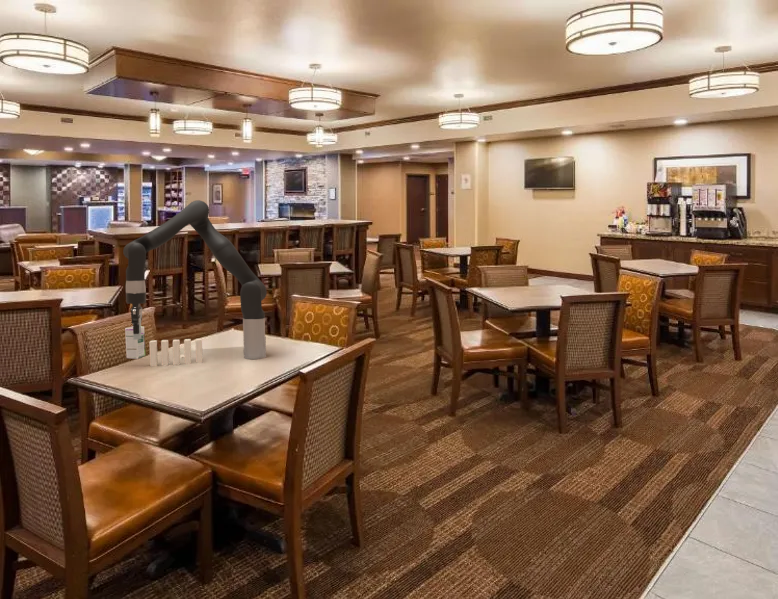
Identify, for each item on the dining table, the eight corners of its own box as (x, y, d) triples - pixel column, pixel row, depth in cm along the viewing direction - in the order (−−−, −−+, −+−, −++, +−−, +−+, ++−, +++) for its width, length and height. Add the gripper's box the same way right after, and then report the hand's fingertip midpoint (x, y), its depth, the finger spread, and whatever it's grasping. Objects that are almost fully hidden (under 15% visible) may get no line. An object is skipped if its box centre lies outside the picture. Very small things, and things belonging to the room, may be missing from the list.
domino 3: (169, 363, 250) (168, 339, 250) (168, 365, 246) (167, 341, 245) (162, 363, 250) (162, 340, 249) (161, 365, 245) (161, 341, 244)
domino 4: (180, 362, 252) (179, 339, 251) (179, 364, 247) (178, 341, 246) (174, 363, 251) (173, 339, 250) (173, 365, 246) (172, 341, 245)
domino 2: (157, 363, 249) (156, 340, 248) (156, 366, 244) (155, 341, 244) (151, 364, 249) (150, 340, 248) (150, 366, 244) (149, 342, 243)
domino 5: (191, 362, 253) (190, 338, 252) (190, 364, 248) (190, 340, 247) (185, 362, 252) (184, 339, 251) (184, 364, 247) (184, 340, 247)
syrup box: (138, 360, 257) (136, 327, 255) (125, 360, 258) (124, 327, 257) (146, 358, 262) (144, 326, 261) (134, 358, 263) (132, 325, 262)
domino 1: (133, 339, 241) (132, 315, 241) (135, 337, 246) (134, 314, 246) (139, 339, 242) (139, 315, 241) (141, 337, 247) (140, 313, 246)
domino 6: (202, 361, 254) (201, 338, 253) (202, 363, 249) (201, 340, 249) (196, 361, 253) (195, 338, 253) (196, 364, 249) (195, 340, 248)
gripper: (128, 290, 249) (130, 331, 250) (123, 292, 235) (124, 335, 236) (147, 290, 251) (149, 330, 252) (143, 292, 237) (144, 334, 238)
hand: (137, 332), depth 244 cm, fingers closed on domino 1, 5 cm apart
